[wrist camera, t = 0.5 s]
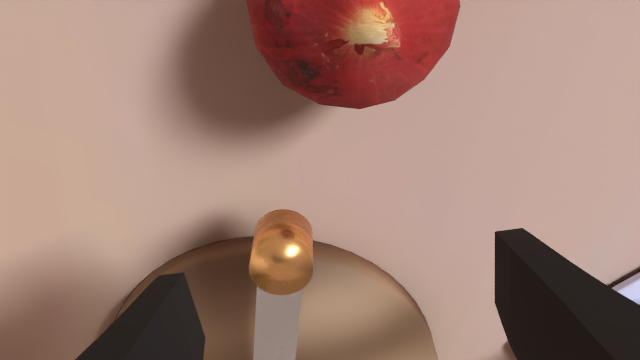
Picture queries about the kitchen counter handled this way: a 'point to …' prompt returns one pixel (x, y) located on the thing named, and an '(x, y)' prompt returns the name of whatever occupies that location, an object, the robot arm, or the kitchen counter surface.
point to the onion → (352, 45)
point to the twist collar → (280, 281)
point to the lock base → (302, 306)
